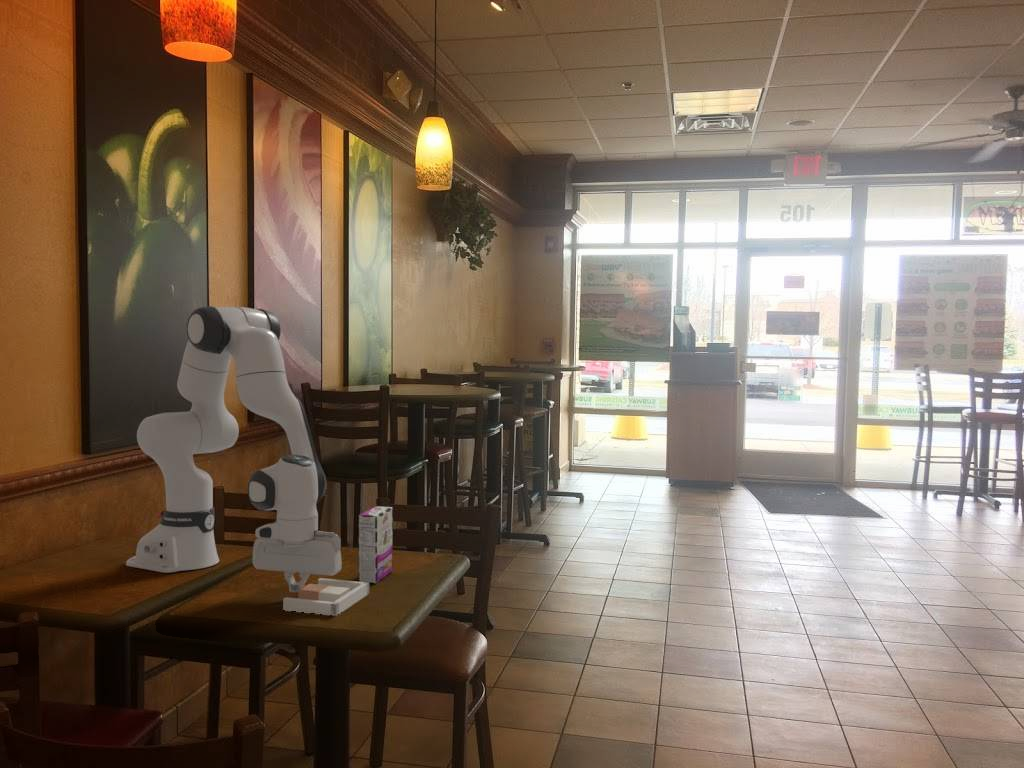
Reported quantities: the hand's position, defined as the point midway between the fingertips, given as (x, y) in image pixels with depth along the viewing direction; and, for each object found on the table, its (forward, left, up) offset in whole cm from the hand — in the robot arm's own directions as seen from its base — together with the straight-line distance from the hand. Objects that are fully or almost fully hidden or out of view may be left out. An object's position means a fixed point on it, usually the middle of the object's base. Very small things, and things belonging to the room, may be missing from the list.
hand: (296, 591), depth 176 cm
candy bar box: (+9, +21, -2) cm, 23 cm away
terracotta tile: (+4, 0, -2) cm, 4 cm away
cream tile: (+9, 0, -2) cm, 9 cm away
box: (+7, 0, -2) cm, 8 cm away
